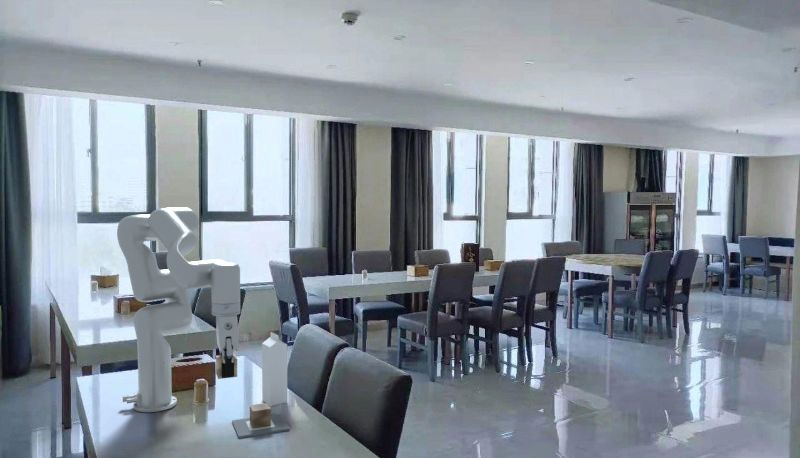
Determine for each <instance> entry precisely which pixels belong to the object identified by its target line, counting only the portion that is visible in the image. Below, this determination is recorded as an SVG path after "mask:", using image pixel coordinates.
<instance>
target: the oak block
mask: <svg viewBox="0 0 800 458" xmlns="http://www.w3.org/2000/svg"><path fill="white" fill-rule="evenodd" d="M233 359H234V377H233V378H238V357H237V355H236V354H235V353H233ZM222 363H223V358H222V355H220V354H219V355H215V374H216V377H217V379H218V380H221V379H224V378H222ZM231 378H232V377H227V378H226V379H231Z"/></svg>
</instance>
